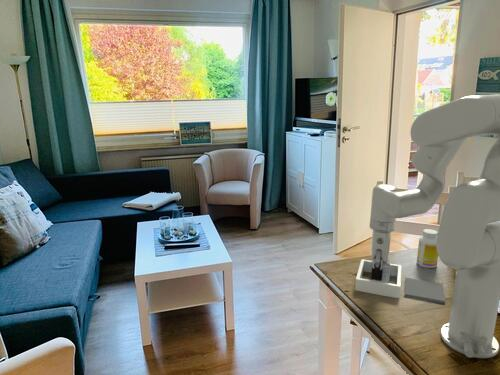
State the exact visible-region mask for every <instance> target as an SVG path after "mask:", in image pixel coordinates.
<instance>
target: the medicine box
mask: <svg viewBox="0 0 500 375" xmlns="http://www.w3.org/2000/svg"><path fill="white" fill-rule="evenodd" d="M375 259H376V256H375ZM380 259H381V260H382V258H380ZM371 261H372V267H373V261H374V260H372V259H371ZM375 262H376V261H375ZM380 264H381V262H380ZM390 264H391V262H390V260H389V259H388V261H387V262H384V261H383V264H382V269H383V273H382V280H381V281H379V282H385V283H390V276H389V275H390ZM370 273H372V271H371V272H370ZM371 280H373V279H371ZM374 281H378V280H374Z"/></svg>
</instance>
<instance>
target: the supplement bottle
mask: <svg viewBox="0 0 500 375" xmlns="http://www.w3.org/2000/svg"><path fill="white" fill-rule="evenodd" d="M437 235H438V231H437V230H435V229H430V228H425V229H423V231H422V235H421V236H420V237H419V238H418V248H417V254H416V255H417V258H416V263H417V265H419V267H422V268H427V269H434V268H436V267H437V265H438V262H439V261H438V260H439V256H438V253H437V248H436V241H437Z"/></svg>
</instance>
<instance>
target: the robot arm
mask: <svg viewBox="0 0 500 375" xmlns="http://www.w3.org/2000/svg"><path fill="white" fill-rule="evenodd" d="M409 132H410V138H411V141H412V142H413V143H414V144H415V145H416V146H418V148H417V149H416V151H415V153H414V154H413V156H412V158H411V163H412V166H413V167H414V168H415V170H416V171H418V172H419V173H420V174H422V175H423V177H422V178H421V180H420V182H419V183H418V185H417V187H416V188H414V189H407V190H401V191H399V188H398V187H397V186H395V185H392V184H387V183H386V184H385V183H384V184H383V183H382V184H377V185H374V187H373V189H372V195H371V208H370V217H369V228H370V229H371V230H372V241H371V261H372V260H374V261H373V267H372V273H371V272H370V273H371V275H370V280H372V279H373V280H378V281H381V280H382V273H383V269H382V264H383V261H384V262H387V261H388V260H389V257H390V256H389V254H390V248H391V247H390V246H391V240H392V239H391V237H392V236H391V235H392V233H393V232H394V231H395V227H396V220H397V219H402V218H403V219H404V218H409V217H412V216H418V215H423V214H425V213H427V212H429V211H430V210H431V209H433V207H434V206H435V205H436V203H437V202H438V200H439V199H440V197H441V196H442V194H443V192H444V189H445V180H446V179H445V174H444V173H445V171H446V169H447V168H448V166H449V165H450V163H451V162H452V160H453V159H454V157H455V156H456V154H457V153H458V152H459V150H460V149H461V147H462V145H463V144H464V143H465V141H466V139H467V138H472V137H474V138H475V137H482V136H483V137H484V136H493V135H496V136H497V138H496V140H495V142H494V144H493V145H491V147H490V148H489V150H488V153H487V155H486V157H485V160H484V164H483V167H482V171H481V173H480V176H479V178H477V179H476V180H470V181H466V182H463V183H460V184H459V185H457V186H455V187H454V188H453V189H452V190H451V191H450V193H449V195H448V196H447V198H446V201H445V204H444V207H443V212H442V215H441V220H440V223H439V226H438V231H437V232H438V235H437V237H436V238H437V241H436V248H437V253H438V259H439V260H441V263H443V264H444V265H445V266H446V267H448V268H449V269H453V270H454V271H455V270H457V272H456V277H455V278H454V284H453V292H452V299H451V306H450V314H449V319H448V323H445V324H443V325H442V326H441V329H440V337H441V339H442V340H443V342H444V343H445V344H446V345H447V346H448V347H450V348H451V349H453V350H454V351H456V352H458V353H460V354H463V355H464V356H466V357H467V358H469V359H471V358H472V359H473V358H476V359H490V358H493V357H495V356H496V355H498V354H499V350H500V343H499V342H498V340H497V339H496V337H495V336H494V334H495V329H496V324H497V319H498V318H497V317H498V312H499V306H500V94H498V93H497V94H478V95H477V94H476V95H467V96H464V97H461V98H458V99H454V100H451V101H450V102H447V103H445V104H442V105H439V106H437V107H434V108H431V109H429V110H426V111H424V112H422V113H420V114H419V115H418V116H416V118H415V119H414V120H413V122H412V124H411V128H410V131H409ZM375 256H376V259H375ZM380 258H382V260H381V259H380ZM375 261H376V262H375ZM380 262H381V264H380Z"/></svg>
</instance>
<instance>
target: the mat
mask: <svg viewBox="0 0 500 375" xmlns="http://www.w3.org/2000/svg"><path fill="white" fill-rule="evenodd" d="M404 280H405V281H404V297H407V298H413V299H417V300H423V301H429V302H434V303H440V304H446V297H445V292H444V286H443V285H444V284H443V283H440V282H435V281H429V280H423V279H419V278H417V279H416V278H411V277H410V278H409V277H405V279H404Z"/></svg>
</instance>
